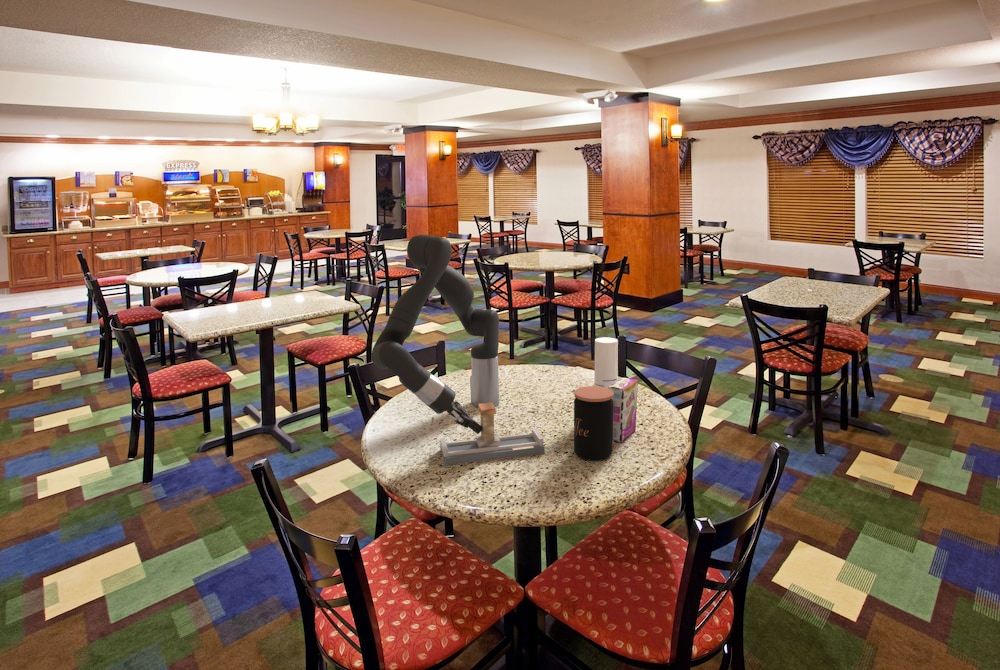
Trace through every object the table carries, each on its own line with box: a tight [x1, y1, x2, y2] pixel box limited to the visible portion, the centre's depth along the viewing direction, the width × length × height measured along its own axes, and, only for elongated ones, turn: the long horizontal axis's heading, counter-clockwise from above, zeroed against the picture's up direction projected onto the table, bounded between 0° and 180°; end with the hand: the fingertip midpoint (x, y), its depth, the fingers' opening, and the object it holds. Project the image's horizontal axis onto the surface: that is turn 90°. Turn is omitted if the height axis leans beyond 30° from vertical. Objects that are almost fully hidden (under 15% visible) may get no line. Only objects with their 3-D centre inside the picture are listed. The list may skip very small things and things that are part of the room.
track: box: [439, 427, 546, 466], centre depth 170 cm, size 28×10×4 cm, turn 102°
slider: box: [475, 403, 500, 448], centre depth 168 cm, size 6×5×12 cm
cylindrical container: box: [593, 336, 619, 388], centre depth 193 cm, size 7×7×25 cm
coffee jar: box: [573, 385, 614, 462], centre depth 166 cm, size 11×11×18 cm
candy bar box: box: [608, 377, 639, 443], centre depth 178 cm, size 11×5×16 cm, turn 145°
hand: (480, 430), depth 168 cm, fingers closed
